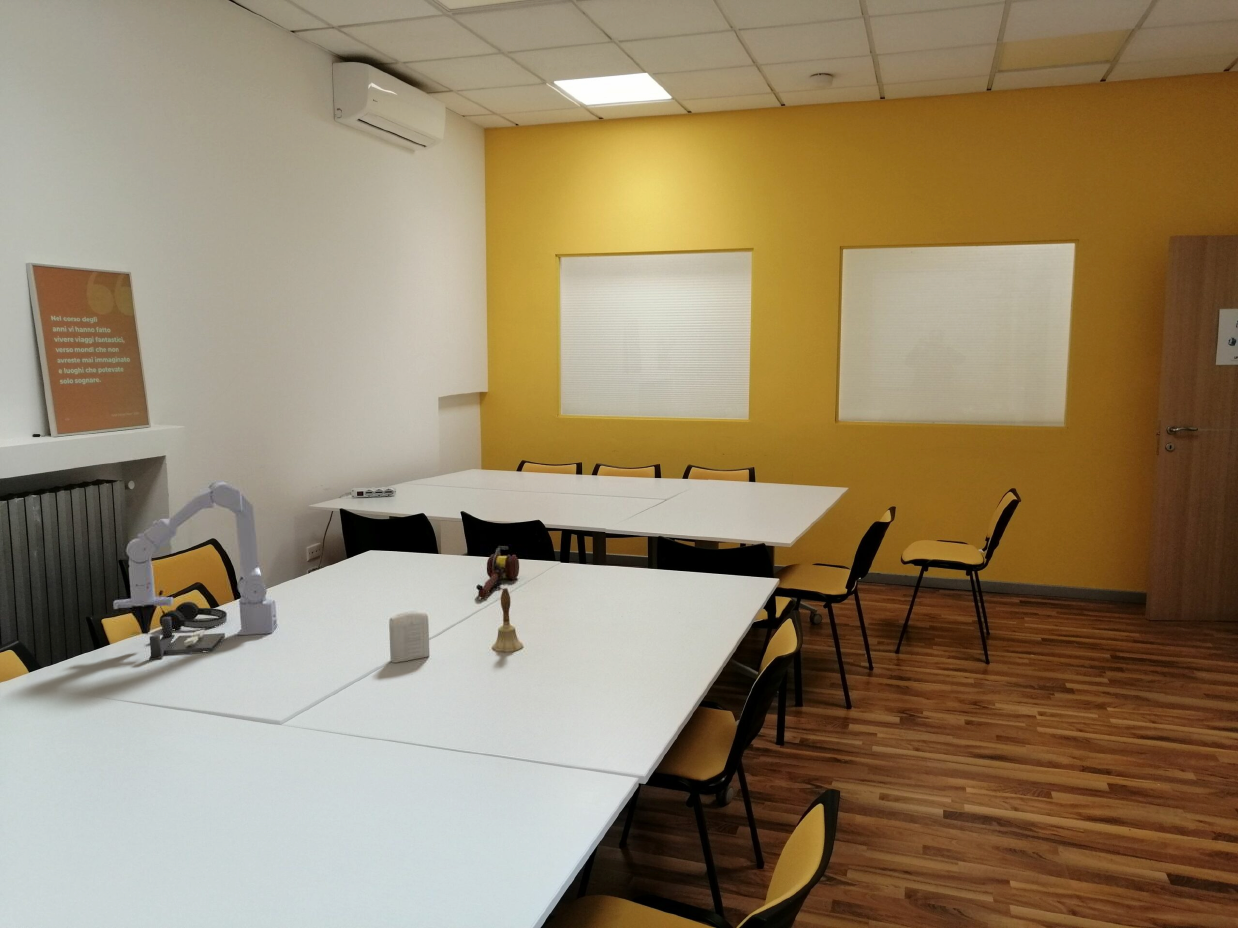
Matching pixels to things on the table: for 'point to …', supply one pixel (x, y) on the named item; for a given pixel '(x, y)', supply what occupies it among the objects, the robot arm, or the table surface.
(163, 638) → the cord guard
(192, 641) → the paddle
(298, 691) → the table surface
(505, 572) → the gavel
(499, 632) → the hand bell
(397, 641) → the engraved stone tablet
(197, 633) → the paddle
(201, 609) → the headset
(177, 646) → the switch panel
